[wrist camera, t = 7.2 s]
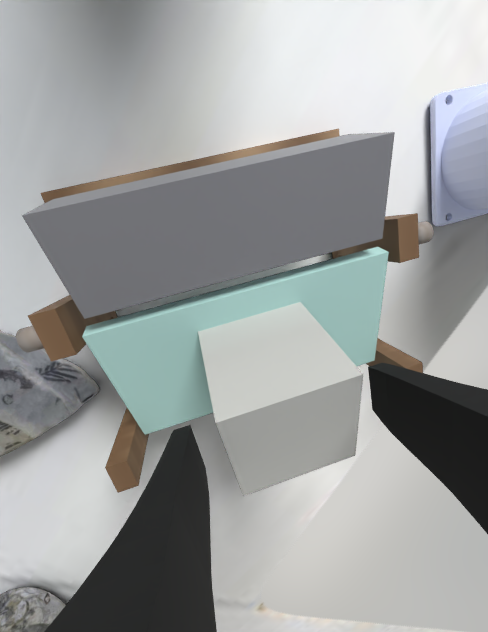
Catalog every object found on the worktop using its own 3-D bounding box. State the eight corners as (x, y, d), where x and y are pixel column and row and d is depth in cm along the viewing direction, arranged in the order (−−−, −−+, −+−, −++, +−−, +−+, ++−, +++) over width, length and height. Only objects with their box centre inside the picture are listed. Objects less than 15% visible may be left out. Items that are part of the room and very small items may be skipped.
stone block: (300, 301, 13) (363, 374, 9) (305, 374, 16) (355, 455, 12) (197, 331, 13) (215, 423, 9) (221, 401, 15) (243, 496, 11)
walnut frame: (344, 130, 17) (430, 72, 11) (365, 341, 22) (435, 383, 15) (32, 198, 15) (-75, 172, 9) (128, 416, 20) (101, 498, 13)
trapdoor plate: (358, 132, 13) (406, 129, 10) (348, 333, 19) (375, 361, 17) (39, 202, 11) (4, 219, 9) (147, 395, 18) (144, 436, 15)
